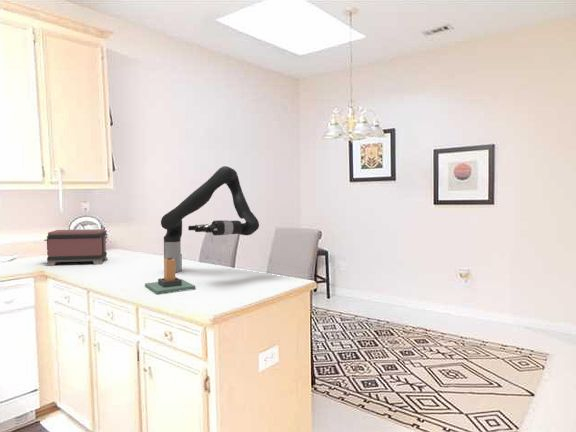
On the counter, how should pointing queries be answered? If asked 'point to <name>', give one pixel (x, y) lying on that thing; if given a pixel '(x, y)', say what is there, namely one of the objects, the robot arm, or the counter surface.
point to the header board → (168, 286)
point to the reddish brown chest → (76, 246)
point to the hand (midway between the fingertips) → (191, 228)
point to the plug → (169, 269)
